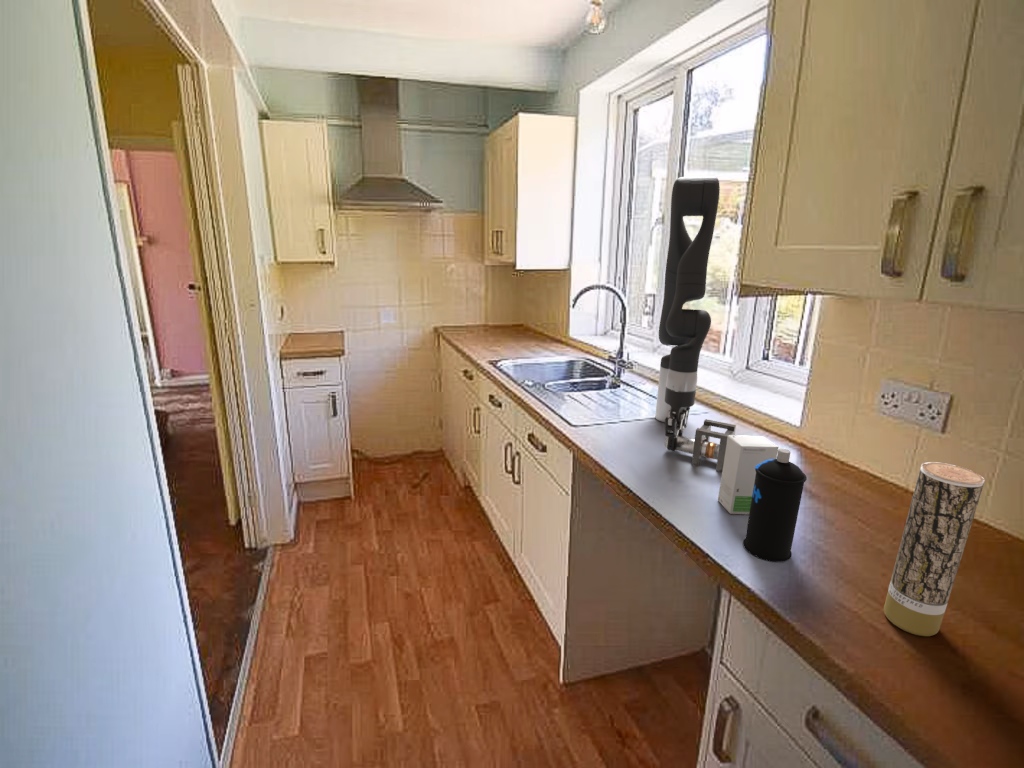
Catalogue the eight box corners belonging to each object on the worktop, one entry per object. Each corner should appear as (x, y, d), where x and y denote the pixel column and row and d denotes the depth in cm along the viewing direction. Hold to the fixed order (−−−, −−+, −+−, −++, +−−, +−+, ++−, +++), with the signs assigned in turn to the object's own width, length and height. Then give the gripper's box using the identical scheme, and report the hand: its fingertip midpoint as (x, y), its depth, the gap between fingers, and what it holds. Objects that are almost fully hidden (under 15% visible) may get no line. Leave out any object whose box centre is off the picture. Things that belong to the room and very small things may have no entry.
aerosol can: (797, 549, 95) (817, 451, 89) (782, 568, 89) (802, 464, 83) (752, 531, 100) (768, 438, 95) (735, 548, 95) (751, 450, 89)
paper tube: (929, 646, 72) (976, 488, 65) (875, 618, 78) (913, 469, 71) (944, 626, 76) (991, 475, 69) (892, 600, 82) (930, 458, 75)
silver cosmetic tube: (664, 450, 136) (665, 437, 135) (669, 443, 139) (670, 430, 138) (727, 465, 127) (728, 451, 126) (730, 457, 131) (732, 443, 129)
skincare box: (729, 515, 106) (739, 446, 102) (716, 499, 113) (725, 434, 108) (768, 514, 107) (780, 446, 102) (753, 499, 113) (763, 434, 108)
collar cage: (701, 452, 137) (705, 419, 135) (731, 459, 133) (736, 425, 130) (691, 464, 130) (695, 429, 127) (722, 472, 125) (727, 436, 123)
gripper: (675, 378, 139) (668, 436, 144) (657, 390, 128) (651, 452, 133) (703, 382, 135) (695, 442, 140) (687, 395, 124) (680, 459, 128)
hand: (674, 447), depth 136 cm, fingers closed on silver cosmetic tube, 4 cm apart
